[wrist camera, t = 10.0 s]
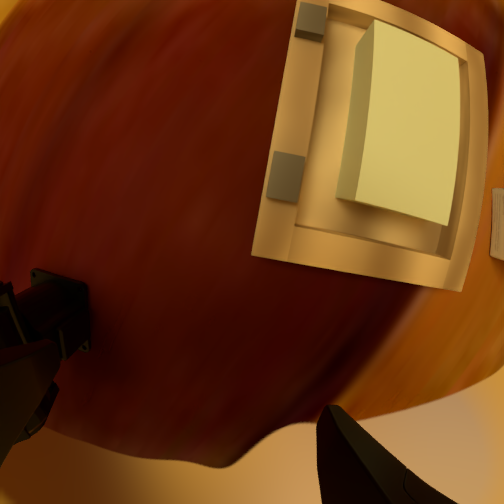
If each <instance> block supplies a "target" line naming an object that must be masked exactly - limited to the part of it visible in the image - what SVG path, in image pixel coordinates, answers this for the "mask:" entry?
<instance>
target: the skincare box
mask: <svg viewBox="0 0 504 504" xmlns="http://www.w3.org/2000/svg"><path fill="white" fill-rule="evenodd" d="M490 256H492V257H494V258H497V259H500V260H503V261H504V188H493V189H492V232H491V247H490Z"/></svg>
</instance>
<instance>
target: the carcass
mask: <svg viewBox="0 0 504 504" xmlns="http://www.w3.org/2000/svg"><path fill="white" fill-rule="evenodd" d="M374 19H375V20H378V21H380V22H383V23H386V24H388V25H391V26H393V27H396V28H398V29H401V30H403V31H405V32H408V33H410V34H412V35H414V36H416V37H419V38H421V39H423V40H425V41H427V42H429V43H431V44H433V45H435V46H437V47H439V48H440V49H442V50H444V51H446V52H448V53H450V54H451V55H453V56H455V57H457V58H458V63H459V78H460V134H459V149H458V161H457V170H456V179H455V186H454V193H453V199H452V205H451V211H450V216H449V221H448V226H445V225H441V224H437V223H433V222H429V221H425V220H421V219H417V218H413V217H409V216H406V215H402V214H399V213H395V212H391V211H388V210H384V209H380V208H376V207H372V206H368V205H364V204H360V203H356V202H352V201H348V200H344V199H339V198H335V194H336V188H337V183H338V177H339V171H340V166H341V160H342V154H343V147H344V141H345V134H346V127H347V120H348V112H349V104H350V96H351V88H352V78H353V68H354V57H355V46H356V45H357V43H358V42H359V41H360V39H361V38H362V36H363V35H364V33H365V32H366V31H367V29H368V28H369V26H370V25H371V24H372V22H373V21H374ZM487 150H488V99H487V84H486V74H485V65H484V57H483V54H482V53H481V52H479V51H478V50H476V49H475V48H473V47H472V46H470V45H469V44H467V43H466V42H464V41H462V40H461V39H459V38H457V37H456V36H454V35H452V34H451V33H449V32H447V31H445V30H443V29H442V28H440V27H438V26H436V25H434V24H432V23H430V22H428V21H426V20H424V19H422V18H420V17H418V16H416V15H414V14H412V13H409V12H407V11H405V10H403V9H400V8H398V7H396V6H393V5H391V4H388V3H385V2H383V1H380V0H297V3H296V8H295V14H294V19H293V25H292V31H291V36H290V42H289V47H288V53H287V58H286V64H285V69H284V75H283V80H282V86H281V91H280V97H279V102H278V108H277V114H276V119H275V125H274V130H273V136H272V141H271V147H270V152H269V158H268V163H267V169H266V175H265V180H264V186H263V191H262V197H261V202H260V208H259V213H258V219H257V225H256V230H255V236H254V241H253V247H252V254H251V255H252V256H258V257H264V258H269V259H275V260H280V261H286V262H292V263H297V264H303V265H309V266H314V267H320V268H326V269H331V270H337V271H343V272H348V273H354V274H360V275H366V276H371V277H377V278H383V279H389V280H394V281H400V282H406V283H412V284H417V285H423V286H429V287H435V288H441V289H446V290H452V291H458V292H461V291H462V287H463V284H464V281H465V278H466V274H467V271H468V267H469V263H470V260H471V256H472V252H473V247H474V243H475V239H476V234H477V229H478V224H479V219H480V213H481V207H482V200H483V193H484V185H485V176H486V165H487Z"/></svg>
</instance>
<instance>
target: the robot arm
mask: <svg viewBox="0 0 504 504" xmlns="http://www.w3.org/2000/svg"><path fill="white" fill-rule="evenodd" d="M35 274H36V275H35ZM30 275H31V287H30V288H28V289H26V290H24V291H22V292H20V293H18V294H17V295H14V292H13V286H12V283H11V281H10V282H7V283H4V284H3V282H2V281H0V467H1V465H2V463H3V462H4V460H5V458H6V456H7V454H8V453H9V451H10V450H11V448H12V446H13V445H15V444H16V443H18V442H21V441H23V440H26V439H29V438H30V437H31V436H32V435H34V434H35V433H37V432H38V431H39V430H40V429H41V428H42V427H43V425H44V424H45V422H46V420H47V417H48V415H49V412H50V410H51V408H52V405H53V403H54V401H55V398H56V396H57V394H58V392H59V388H58V386H57V384H56V383H54V381H53V379H54V377H55V375H56V373H57V371H58V370H59V367H60V361H61V360H64V361H66V360H67V359H68V358H69V357H70V356H71V355H72V354H73V353H74V352H75V351H76V350H77V349H78V350H81V351H83V352H88V351H89V350H90V349H91V343H90V324H89V312H88V302H87V287H86V285H85V284H84V283H83V282H80V281H76V280H73V279H69V278H66V277H63V276H59V275H56V274H53V273H50V272H47V271H43V270H40V269H37V268H34V269H32V270H31V272H30ZM80 287H81V288H82V291H81V289H80ZM84 345H85V346H86V347H85V346H84ZM316 436H317V471H318V478H319V485H320V492H321V499H322V504H457V503H456V502H455V501H453V500H451V499H450V498H448V497H446V496H445V495H443V494H442V493H440V492H439V491H437V490H436V489H434V488H433V487H431V486H430V485H428V484H427V483H425V482H424V481H423V480H422V479H420V478H419V477H418V476H416V475H415V474H414V473H413V472H412V471H411V470H409V469H407V468H406V466H405V465H404V464H402V463H401V462H400V461H399V460H397V458H396V457H394V456H393V455H392V454H391V453H390V452H388V450H386V449H385V448H384V447H383V446H382V445H381V444H380V443H378V441H376V440H375V439H374V438H373V437H372V436H371V435H370V434H369V433H368V432H367V431H365V430H364V429H363V428H362V427H361V426H360V425H359V424H358V423H357V422H356V421H355V420H354V419H353V418H352V417H350V416H349V415H348V414H347V413H346V412H345V411H344V410H343V409H342V408H341V407H340V406H338V405H326V406H325V407H324V409H323V411H322V413H321V416H320V418H319V420H318V422H317V426H316Z"/></svg>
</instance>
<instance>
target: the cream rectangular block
mask: <svg viewBox="0 0 504 504" xmlns="http://www.w3.org/2000/svg"><path fill="white" fill-rule="evenodd" d="M459 134H460V78H459V63H458V58H457V57H455V56H453V55H451V54H450V53H448V52H446V51H444V50H442V49H440V48H439V47H437V46H435V45H433V44H431V43H429V42H427V41H425V40H423V39H421V38H419V37H416V36H414V35H412V34H410V33H408V32H405V31H403V30H401V29H398V28H396V27H393V26H391V25H388V24H386V23H383V22H380V21H378V20H375V19H374V21H373V22H372V24H371V25H370V26H369V28H368V29H367V31H366V32H365V33H364V35H363V36H362V38H361V39H360V41H359V42H358V43H357V45H356V46H355V57H354V68H353V78H352V88H351V96H350V104H349V112H348V120H347V127H346V134H345V141H344V147H343V154H342V160H341V166H340V171H339V177H338V183H337V188H336V194H335V198H339V199H344V200H348V201H352V202H356V203H360V204H364V205H368V206H372V207H376V208H380V209H384V210H388V211H391V212H395V213H399V214H402V215H406V216H409V217H413V218H417V219H421V220H425V221H429V222H433V223H437V224H441V225H445V226H448V221H449V216H450V211H451V205H452V199H453V193H454V186H455V179H456V170H457V161H458V149H459Z"/></svg>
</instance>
